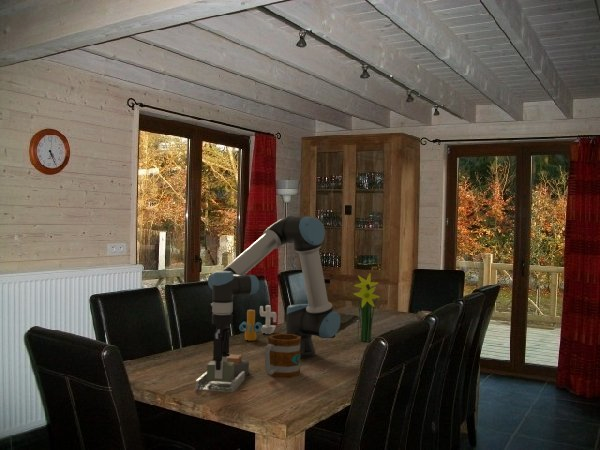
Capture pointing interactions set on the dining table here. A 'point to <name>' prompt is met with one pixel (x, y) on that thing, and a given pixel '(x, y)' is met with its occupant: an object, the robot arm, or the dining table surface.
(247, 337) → the orange knobbed block
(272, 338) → the mug
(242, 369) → the grey block tan top
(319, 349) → the dining table surface
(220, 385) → the bracket
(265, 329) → the figurine
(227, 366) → the olive green block
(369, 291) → the daffodil flowers
